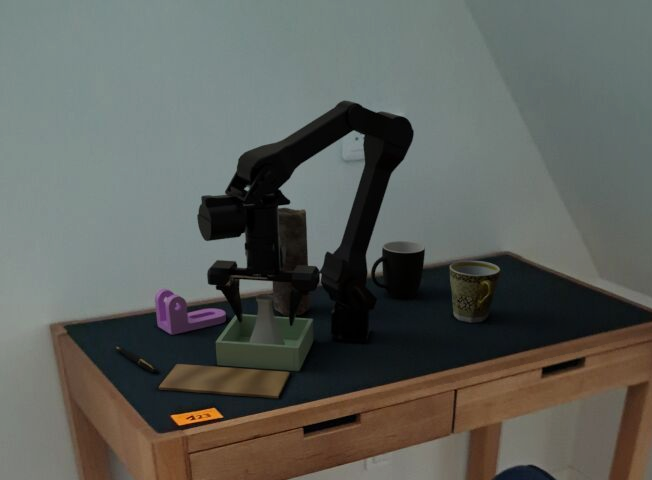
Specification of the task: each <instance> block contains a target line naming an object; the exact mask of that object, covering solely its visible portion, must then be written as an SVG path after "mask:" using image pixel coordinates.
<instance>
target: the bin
mask: <svg viewBox="0 0 652 480" xmlns="http://www.w3.org/2000/svg"><path fill="white" fill-rule="evenodd" d="M274 317H275V320H276V323H277V325H278V328H279V331H280V333H281V336H282V338H283V340H284V343H285V345H274V344H260V343H249V342H250V339H251V336H252V333H253V329H254V326H255V322H256V319H257V314H245V313H243V321H242V322H241V323H240V322H239V321H238V319H237V317H236V315H235V314H234V316H233V317H232V319H231V320H230V322H229V323H228V324H227V325H226V327H225V329H224V330H223V331H222V332H221V334H220V335H219V337H218V338H216V341H215V353H216V365H217V366H219V367H233V368H247V369H261V370H275V371H288V372H290V371H291V372H300V370H301V368H302V366H303V365H304V362H305V360H306V358H307V356H308V353H309V351H310V349H311V348H312V345H313V343H314V318H306V317H305V318H304V317H303V318H302V317H295V320H294V323H293V325H292V326H290V322H289V316H276V315H274Z"/></svg>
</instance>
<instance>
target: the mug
mask: <svg viewBox="0 0 652 480" xmlns="http://www.w3.org/2000/svg"><path fill="white" fill-rule="evenodd" d="M381 248H382V249H381V250H382V251H381V256H380V257H379V258H377V259H376V260H375V261H374V263H373V264H372V266H371V272H370V276H371V280H372V282H373V283H374V285H375V286H376V287H378V288H381V289H384V290H385V292H386V295H387V296H388V297H391V298H393V299H399V300H408V299H412V298H414V297H416V296H417V294H418V292H419V290H420V286H421V282H422V278H423V272H424V264H425V255H426V254H425V253H426V248H425V246H424V245H423V244H421V243H419V242H414V241H410V240H409V241H408V240H395V241H394V240H393V241H388V242H385V243H384V244H382V247H381ZM380 264H381V265H382V279H383V283H380V282H378V280H377V278H376V272H377V267H378V266H379V265H380Z"/></svg>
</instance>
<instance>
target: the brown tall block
mask: <svg viewBox="0 0 652 480" xmlns="http://www.w3.org/2000/svg"><path fill="white" fill-rule="evenodd" d="M278 214H279V236H280V244H281V245H282V246H285V247H286V260H285V265H284V266H283V268H280V270H284V271H294V269H295V268H296V266H297V265H306V266H309V253H308V252H309V251H308V227H307V211H306V210H305V209H294V208H293V209H292V208H289V207H278ZM274 276H275V275H274ZM271 282H272V295H273V298H274V300H273V307H274V310H275V311H277V312H278V313H280V314H281V315H282V316H283V317H289V311H290V292H291V290H292V289H293V286H292V283H291V282H275V281H271ZM310 299H311V298H310V292H309V293H308V295H306V296H302V298H301V300H300V303H299V306H298V310H297V313H296V316H301V315H303V314H304V313H305V312H307V311H309V310H310V308H311V301H310Z"/></svg>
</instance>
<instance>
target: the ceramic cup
mask: <svg viewBox="0 0 652 480" xmlns="http://www.w3.org/2000/svg"><path fill="white" fill-rule="evenodd" d="M500 274H501V268H500V267H499V266H498V265H497V264H494V263H491V262H488V261H483V260H460V261H456V262H453V263H451V264H450V265H449V281H450V289H451V301H452V311H453V313H452V314H453V316H454V318H456V319H457V320H458V321H461V322H465V323H471V324H474V323H482V322H483V321H485V320H486V319H487V318H488V317H489V313H490V309H491V305H492V303H493V299H494V295H495V291H496V289H497V286H498V282H499V280H500Z"/></svg>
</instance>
